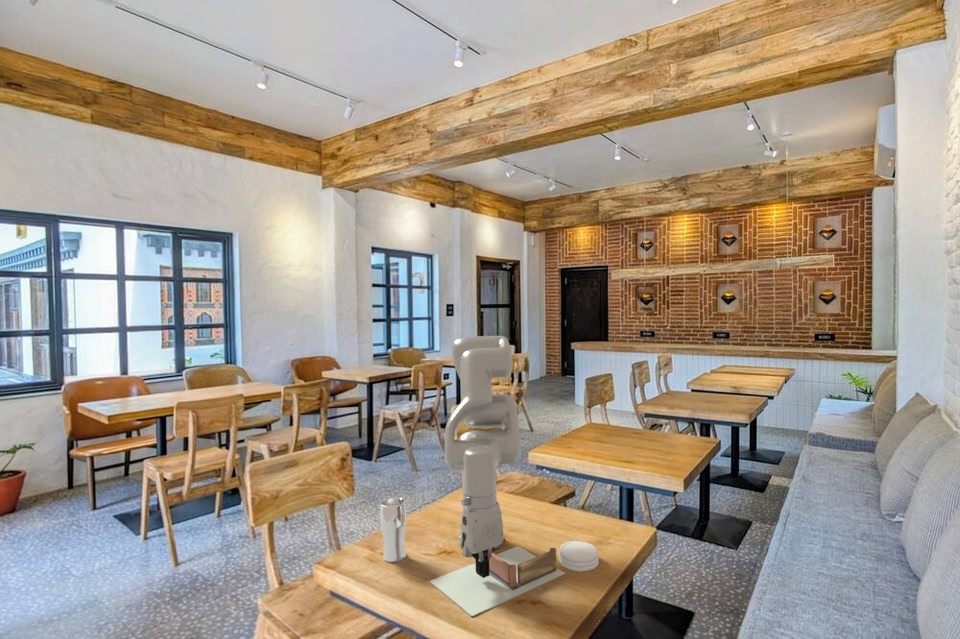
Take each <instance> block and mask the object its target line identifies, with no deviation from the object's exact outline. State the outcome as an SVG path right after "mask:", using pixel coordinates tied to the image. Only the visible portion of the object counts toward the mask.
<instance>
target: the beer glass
mask: <svg viewBox="0 0 960 639" xmlns="http://www.w3.org/2000/svg"><path fill="white" fill-rule="evenodd" d="M379 505H380V506H379V523H380V530H381V534H382V535H381V536H382V539H383V545H384V546H383V555H382V556H383V557H382V558H383V560H384V561H385V562H386V563H387V562H388V563H398V562H400V561H403V560H405V558H406V557H407V551H406V549H405V535H406V530H407V529H406V528H407V508H406V500H405V499H404V498H402V497H388V498H385V499H382V500H381V501H380V503H379Z"/></svg>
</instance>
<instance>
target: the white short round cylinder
mask: <svg viewBox="0 0 960 639" xmlns="http://www.w3.org/2000/svg"><path fill="white" fill-rule="evenodd" d="M558 553H559V554H558V557H559V559H558V561H559V563H560V565H561V566H562V567H564V568H565V569H567V570H570V571H573V572H581V573H582V572H583V571H584V572H589V571H592V570H594V569H596V568H597V567H598V566H599V562H600V561H599V550H598V548H597V547H596V546H595V545H593V544H591V543H589V542H585V541H580V540H575V541H574V540H573V541H567V542H565V543H563V544H561V545H560V547H559V549H558ZM584 572H583V573H584Z"/></svg>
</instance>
